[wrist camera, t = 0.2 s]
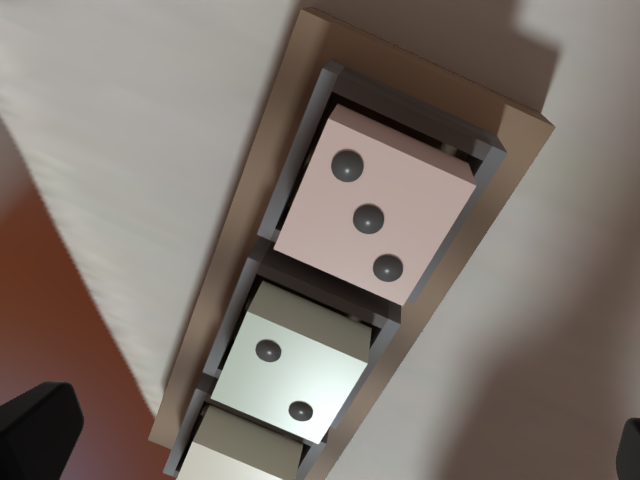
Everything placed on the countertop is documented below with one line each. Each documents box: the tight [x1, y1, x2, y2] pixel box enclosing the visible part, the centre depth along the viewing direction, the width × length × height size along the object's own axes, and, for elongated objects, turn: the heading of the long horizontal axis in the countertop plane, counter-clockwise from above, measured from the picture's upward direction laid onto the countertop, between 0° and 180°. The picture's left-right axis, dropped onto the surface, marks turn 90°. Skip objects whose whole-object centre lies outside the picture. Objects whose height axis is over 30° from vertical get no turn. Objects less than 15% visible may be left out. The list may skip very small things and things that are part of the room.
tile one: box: [176, 405, 303, 480], centre depth 22 cm, size 4×4×2 cm
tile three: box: [274, 104, 476, 306], centre depth 15 cm, size 4×4×2 cm
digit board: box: [148, 7, 555, 480], centre depth 21 cm, size 22×9×4 cm, turn 158°
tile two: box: [211, 281, 372, 444], centre depth 19 cm, size 4×4×2 cm
